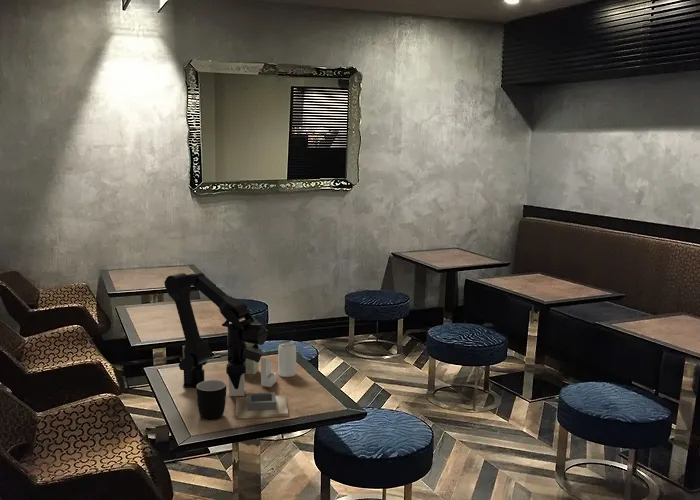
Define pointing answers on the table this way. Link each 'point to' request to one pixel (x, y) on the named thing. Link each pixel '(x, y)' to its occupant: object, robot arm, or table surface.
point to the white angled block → (267, 374)
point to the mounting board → (243, 413)
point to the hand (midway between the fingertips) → (236, 384)
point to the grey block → (240, 389)
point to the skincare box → (251, 364)
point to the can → (287, 359)
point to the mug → (211, 399)
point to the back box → (261, 401)
